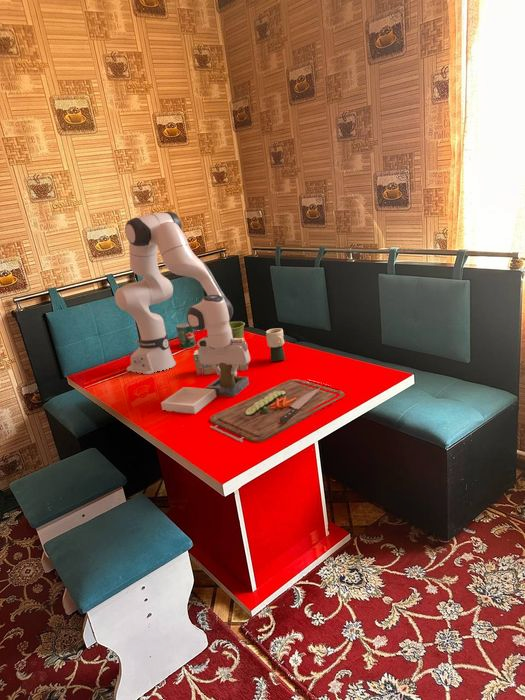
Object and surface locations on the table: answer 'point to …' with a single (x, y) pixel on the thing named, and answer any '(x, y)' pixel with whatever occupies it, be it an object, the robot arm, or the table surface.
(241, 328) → the plant pot
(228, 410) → the chopping board
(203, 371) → the stack of blocks
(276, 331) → the character mug
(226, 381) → the cork
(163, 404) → the tray
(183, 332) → the canned tomato
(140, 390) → the table surface
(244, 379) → the grey square shallow box
